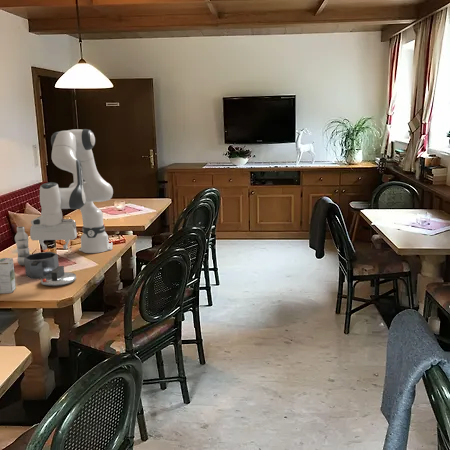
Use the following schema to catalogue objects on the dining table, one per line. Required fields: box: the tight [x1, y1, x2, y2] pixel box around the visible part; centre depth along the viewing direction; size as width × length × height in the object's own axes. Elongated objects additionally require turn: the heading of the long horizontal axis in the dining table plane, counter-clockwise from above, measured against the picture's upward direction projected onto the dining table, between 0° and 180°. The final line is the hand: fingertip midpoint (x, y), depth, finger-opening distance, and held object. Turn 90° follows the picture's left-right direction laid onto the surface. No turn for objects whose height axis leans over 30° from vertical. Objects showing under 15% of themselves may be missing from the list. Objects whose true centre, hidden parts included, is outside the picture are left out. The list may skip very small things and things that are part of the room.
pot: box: [24, 251, 60, 280], centre depth 246 cm, size 20×14×9 cm
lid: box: [40, 265, 77, 287], centre depth 234 cm, size 16×16×6 cm
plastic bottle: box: [14, 226, 31, 266], centre depth 261 cm, size 6×7×20 cm
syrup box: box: [0, 257, 17, 294], centre depth 222 cm, size 6×6×14 cm
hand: (55, 249), depth 231 cm, fingers open, 8 cm apart
